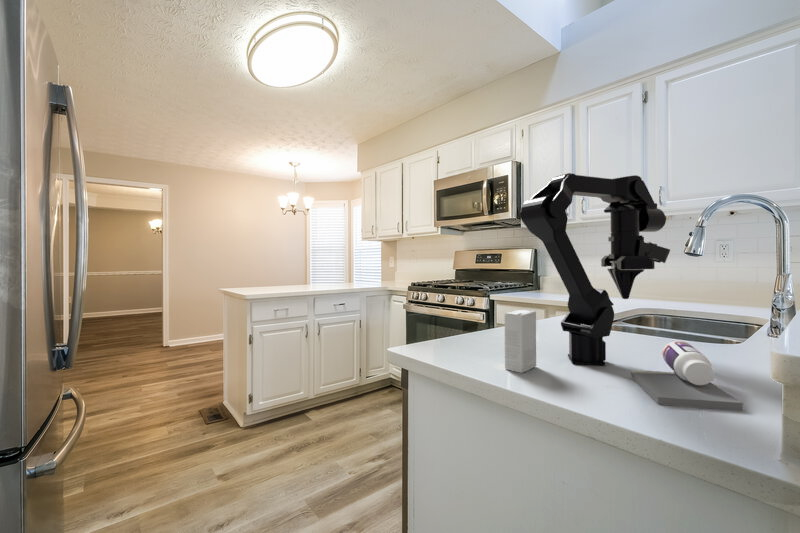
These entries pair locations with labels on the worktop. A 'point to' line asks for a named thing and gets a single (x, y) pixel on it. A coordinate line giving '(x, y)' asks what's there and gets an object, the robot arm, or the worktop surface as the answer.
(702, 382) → the pill bottle
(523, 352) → the skincare box
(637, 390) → the worktop surface
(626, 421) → the worktop surface
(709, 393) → the mat
